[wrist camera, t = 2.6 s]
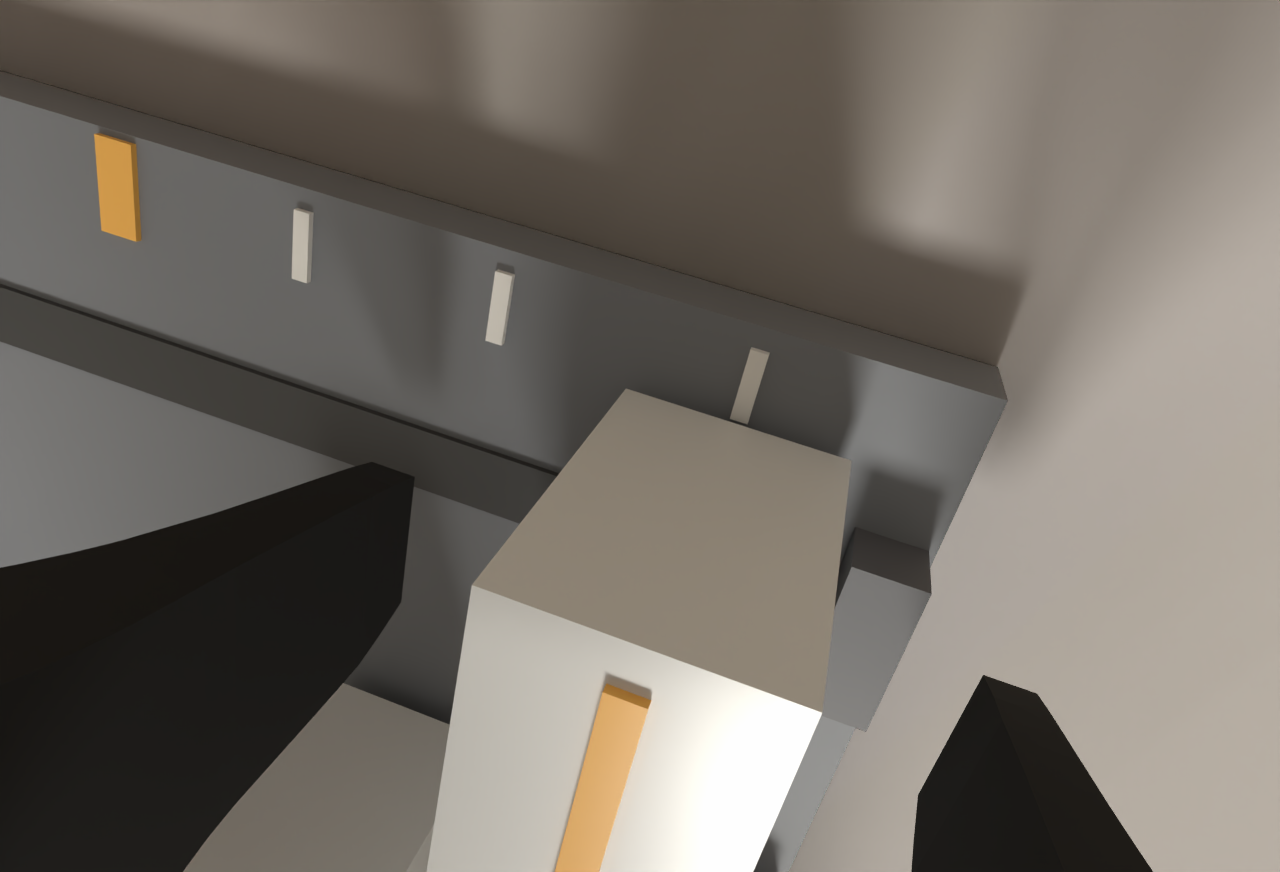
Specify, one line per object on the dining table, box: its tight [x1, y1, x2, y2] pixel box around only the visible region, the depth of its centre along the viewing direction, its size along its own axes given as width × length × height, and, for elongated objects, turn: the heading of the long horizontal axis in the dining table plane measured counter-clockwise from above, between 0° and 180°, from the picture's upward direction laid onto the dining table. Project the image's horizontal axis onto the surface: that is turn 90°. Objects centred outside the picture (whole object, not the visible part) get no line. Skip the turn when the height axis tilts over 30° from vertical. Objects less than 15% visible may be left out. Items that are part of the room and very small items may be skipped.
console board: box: [0, 71, 1008, 872], centre depth 15 cm, size 14×20×2 cm
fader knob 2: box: [427, 389, 851, 872], centre depth 10 cm, size 5×3×5 cm, turn 167°
